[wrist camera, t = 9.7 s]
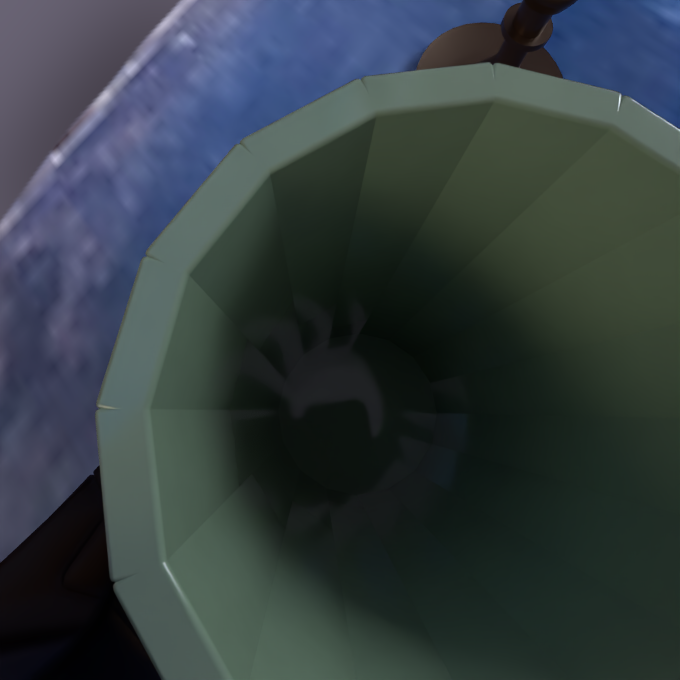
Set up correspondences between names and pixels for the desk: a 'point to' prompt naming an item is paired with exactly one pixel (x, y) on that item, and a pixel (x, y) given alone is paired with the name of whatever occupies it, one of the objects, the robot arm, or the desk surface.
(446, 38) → the candlestick
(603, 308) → the pen cup
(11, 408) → the desk surface
